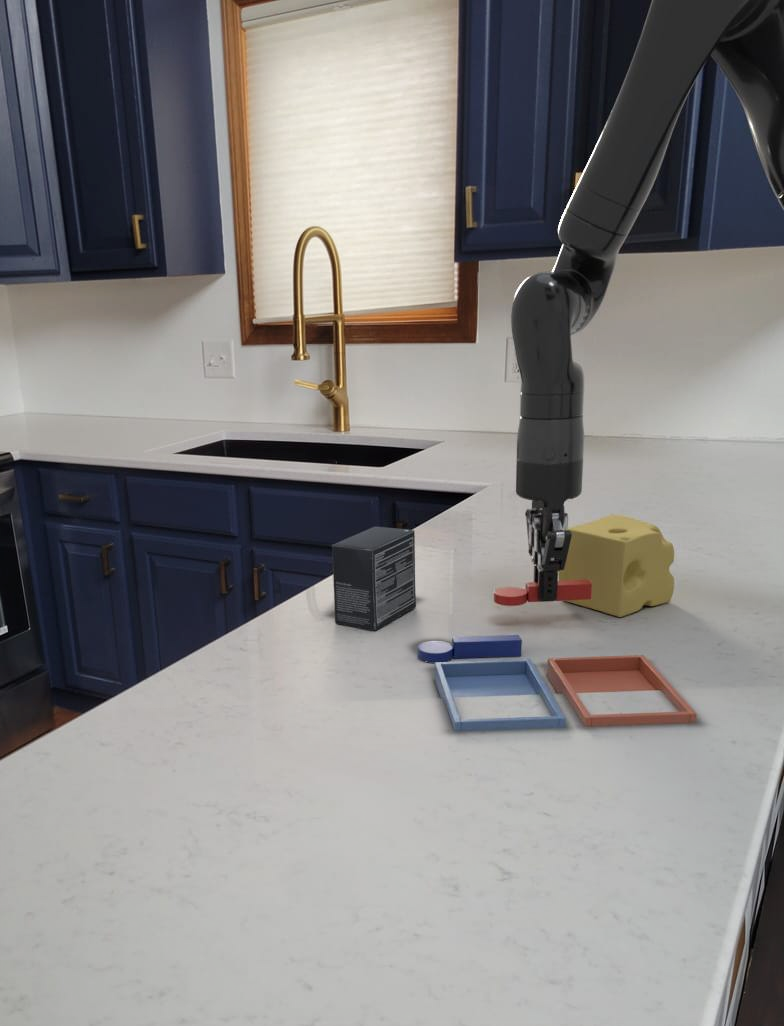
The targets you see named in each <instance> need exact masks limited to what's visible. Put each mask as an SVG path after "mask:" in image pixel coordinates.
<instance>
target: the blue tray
mask: <svg viewBox="0 0 784 1026" xmlns="http://www.w3.org/2000/svg"><path fill="white" fill-rule="evenodd" d="M434 681H435V685H436V688H437V691H438V694H439V697H440V699H444V700H443V701H444V703H445V706H446V709H447V712H448V715H449V719H450V721H451V724H452V727H453V730H454V732H465V731H491V730H493V731H494V730H496V731H497V730H521V729H548V728H549V729H553V728H566V720H567V719H566V717H565V715H564V713H563V711H562V709H561V708H560V706H559V705H558V703H557V701H556V700H555V698H554V697H553V694H552V693H551V691H550V690H549V688H548V686H547V685H546V682H545V681H544V680H543V678H542V676H541V674H540V672H539V670H538V669H537V668H536V666H535V664H534V663H533V661H532V659H531V658H525V659H524V658H523V659H522V658H521V659H520V658H519V659H518V658H517V659H495V660H491V659H490V660H468V661H467V660H464V661H447V662H441V663H440V662H435V663H434ZM538 695H540V697H541V698H542V701H543V702H544V704H545V706H546V708H547V710H548V712H549V713H550V714H551V715H550V716H549V715H547V716H545V715H544V716H518V717H491V718H463V719H461V718H460V714H459V712H458V710H457V706H456V703H455V700H454V699H455V698H456V699H457V698H480V697H481V698H483V697H509V696H511V697H512V696H538Z"/></svg>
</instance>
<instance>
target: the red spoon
mask: <svg viewBox="0 0 784 1026" xmlns="http://www.w3.org/2000/svg"><path fill="white" fill-rule="evenodd" d="M591 592H592V583H591V582H590V581H589V580H568V581H559V580H558V586H557V599H556V600H555V601H554V602H562V601H565V602H567V601H566V600H586V599H591ZM493 602H494V604H497V605H500V606H504V607H516V606H522V605H524V604H527V603H541V601H540V600H539V599H538V582H533V581H532V582H529V581H528V582H525V589H524V588H522V587H517V586H503V587H498V588H496V589H494V591H493Z"/></svg>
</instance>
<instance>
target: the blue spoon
mask: <svg viewBox="0 0 784 1026" xmlns="http://www.w3.org/2000/svg"><path fill="white" fill-rule="evenodd" d="M522 648H523V640H522V638H521V636H520V635H519V634H500V635H474V636H473V635H472V636H471V635H469V636H452V637H451V643H449V642H448V641H447V642H446V641H441V640H427V641H424V642H421V643H419V644H417V658H418V660H420V659H421V660H420V661H422V660H423V661H422V662H424V661H427V662H426V663H429V662H434V663H433V664H435V662H445V661H447V662H449V661H452V659H454V658H458V659H481V658H482V659H484V658H507V657H509V658H510V657H512V658H513V657H522ZM448 660H449V661H448Z"/></svg>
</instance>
